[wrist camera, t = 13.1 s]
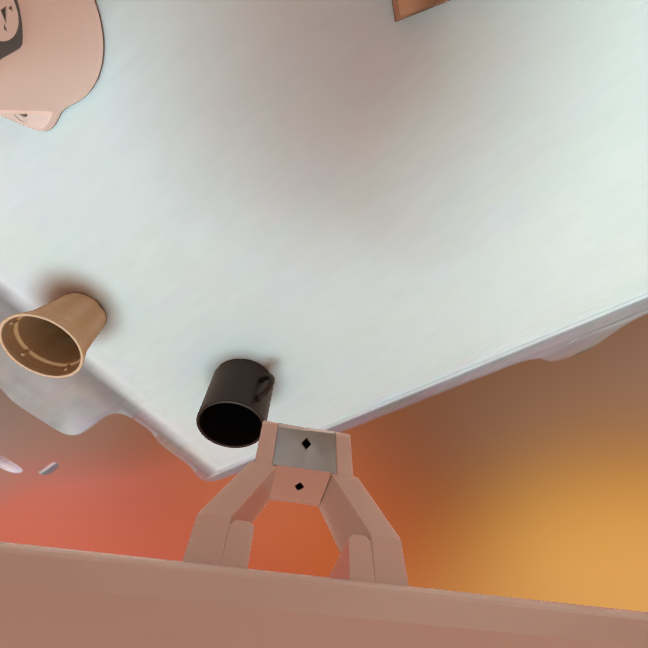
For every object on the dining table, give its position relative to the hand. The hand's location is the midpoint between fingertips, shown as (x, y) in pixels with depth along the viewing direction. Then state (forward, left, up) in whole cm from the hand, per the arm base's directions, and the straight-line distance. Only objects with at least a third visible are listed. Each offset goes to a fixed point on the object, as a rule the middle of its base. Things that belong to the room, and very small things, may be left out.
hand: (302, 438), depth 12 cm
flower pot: (-29, -22, -34) cm, 50 cm away
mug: (-5, -29, -34) cm, 45 cm away
